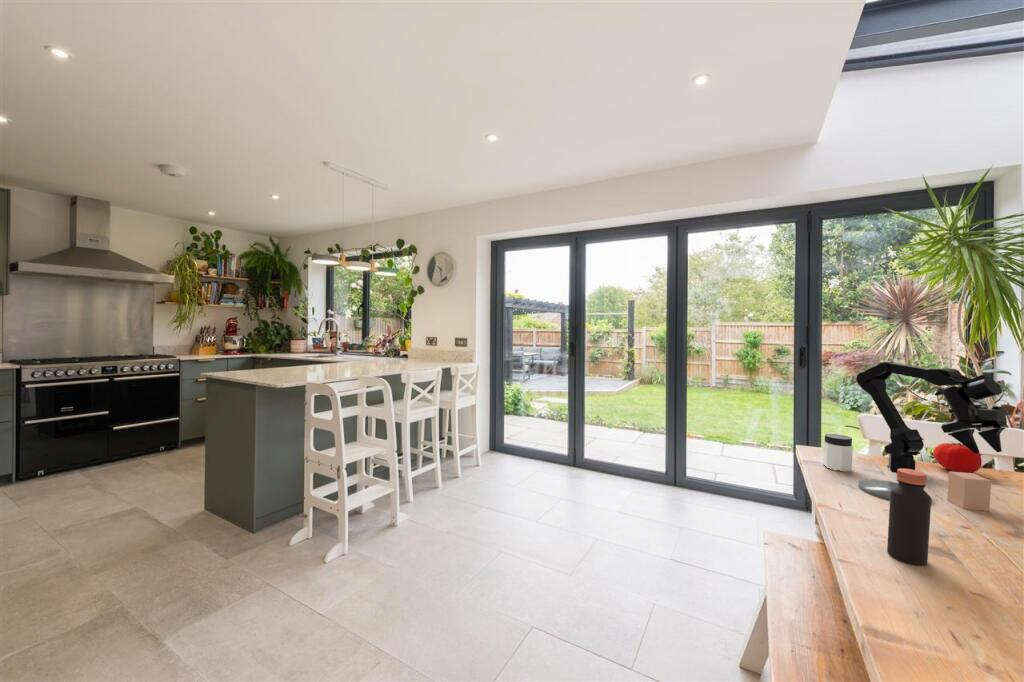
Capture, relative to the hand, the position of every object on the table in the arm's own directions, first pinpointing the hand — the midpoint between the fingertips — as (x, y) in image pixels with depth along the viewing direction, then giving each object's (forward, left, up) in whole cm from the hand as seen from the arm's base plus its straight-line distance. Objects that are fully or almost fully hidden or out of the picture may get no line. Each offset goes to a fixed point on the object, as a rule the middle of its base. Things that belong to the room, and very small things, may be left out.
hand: (988, 452), depth 132 cm
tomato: (+1, +30, -14) cm, 33 cm away
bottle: (-32, -61, -14) cm, 70 cm away
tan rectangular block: (-8, -12, -14) cm, 20 cm away
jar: (-37, +8, -14) cm, 40 cm away
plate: (-25, -12, -14) cm, 31 cm away
